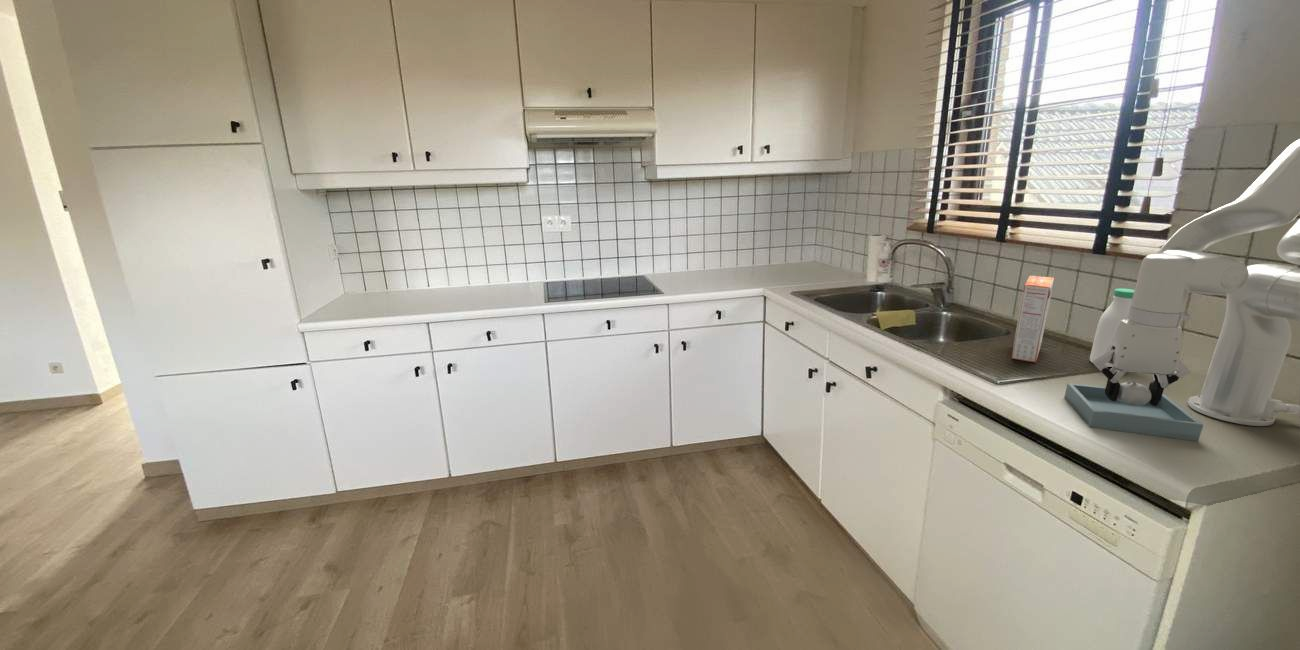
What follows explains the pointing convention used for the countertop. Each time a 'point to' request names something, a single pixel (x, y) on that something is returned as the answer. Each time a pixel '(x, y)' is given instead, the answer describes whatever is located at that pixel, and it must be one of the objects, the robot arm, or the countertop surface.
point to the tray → (1132, 414)
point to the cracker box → (1032, 318)
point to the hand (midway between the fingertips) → (1130, 400)
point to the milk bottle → (1111, 322)
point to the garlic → (1133, 394)
